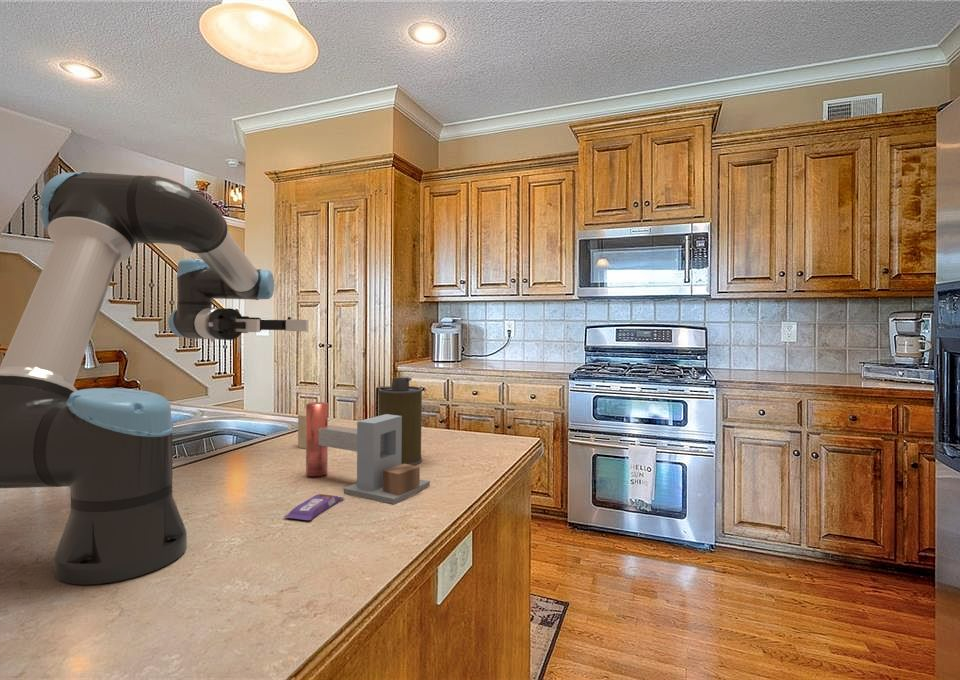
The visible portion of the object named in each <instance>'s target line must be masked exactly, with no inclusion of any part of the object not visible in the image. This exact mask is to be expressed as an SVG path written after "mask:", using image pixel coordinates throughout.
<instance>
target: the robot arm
mask: <svg viewBox="0 0 960 680" xmlns="http://www.w3.org/2000/svg"><path fill="white" fill-rule="evenodd" d="M39 204H40V205H41V206H42V207H41V209H40V210H39V213H40V218H41V221H42V224H43V226H44V228H45V229H46V230H47V235H48V236H49V238H50V239H51V240H52V242H53V245H52V247H51V250H50V252H49V254H48V256H47V259H46V261H45V263H44V266H43V268H42V270H41V272H40V274H39V277H38V280H37V282H36V284H35V286H34V289H33V291H32V293H31V296H30V298H29V300H28V302H27V305H26V307H25V309H24V311H23V313H22V316H21V318H20V320H19V323H18V324H17V328H16V329H15V332H14V334H13V337H12V339H11V341H10V342H9V346H8V348H7V350H6V352H5V354H4V357H3V359H2V361H1V364H0V489H22V488H23V489H25V488H26V489H28V488H30V489H31V488H55V487H56V488H62V487H67V488H68V487H69V492H70V511H69V516H68V518H67V521H66V524H65V527H64V530H63V532H62V534H61V535H62V536H61V538H60V540H59V544H58V546H57V548H56V551H55V554H54V558H53V559H54V562H53V563H54V564H53V566H54V567H53V568H54V576H55V578H56V579H58V580H59V581H61V582H63V583H67V584H73V585H101V584H107V583H116V582H120V581H126V580H129V579H132V578H136V577H140V576H143V575H146V574H149V573H152V572H155V571H157V570H159V569H161V568H164V567H166V566H168V565H169V564H172V563H173V562H175V561H176V560H177V559H179V558H180V557H181V556H182V555H183V554H184V553H185V552H186V550H187V548H188V545H187V543H188V539H187V537H188V534H187V529H186V526H185V524H184V521H183V519H182V516H181V514H180V511H179V509H178V506H177V503H176V501H175V498H174V495H173V431H174V424H173V420H172V419H173V418H172V408H171V404H170V401H169V400H168V399H167V398H166V397H164V396H162V395H160V394H158V393H156V392H151V391H146V390H141V389H131V388H120V387H118V388H117V387H114V388H105V387H102V388H101V387H93V388H83V389H79V390H78V389H77V388H76V387H75V386H74V385H75V382H76V379H77V378H78V373H79V370H80V367H81V365H82V362H83V360H84V357H85V354H86V352H87V348H88V344H89V343H90V340H91V337H92V334H93V332H94V328H95V326H96V323H97V320H98V317H99V314H100V311H101V309H102V306H103V303H104V300H105V297H106V295H107V292H108V288H109V286H110V283H111V280H112V277H113V274H114V273H115V268H116V267H117V264H120V263H123V262H125V261H127V260H129V258H130V257H131V255H132V253H133V249H134V247H135V245H136V244H163V245H167V244H168V245H176V246H180V247H181V248H182V249H184V250H185V251H186V252H189V253H191V254H196V255H197V256H198V257H199V258H200V259H194V258H184V259H180V260H179V261H178V263H177V271H176V272H177V273H176V275H177V276H176V285H177V286H176V290H177V291H176V292H177V293H176V294H177V295H176V296H177V304H176V309H174V310H173V311H172V312H171V313H170V315H169V317H168V319H167V320H168V322H167V323H168V324H167V325H168V329H169V330H170V331H171V332H172V334H173V335H175V336H176V337H179V338H185V339H193V340H194V339H197V340H200V339H201V340H210V341H211V342H212V343H215V341H216V340H219V341H220V340H221V341H222V340H223V341H233V340H236V339H237V338H239V337H240V336H241V334H249V333H261V331H271V330H272V331H286V332H287V331H288V332H309V319H292V317H291V316H288V317H287V319H261V317H255V316H254V317H252V316H251V317H250V316H247V315H246V316H245V315H244V316H243V315H242V314H241V313H240V312H239V311H238V310H236V309H235V308H229V307H228V308H223V307H222V308H220V307H214V308H213V307H212V306H213V299H214V300H215V299H218V300H219V299H223V300H224V299H225V300H251V301H252V300H254V301H259V300H270V299H271V298H272V297H273V296H274V293H275V292H274V291H275V280H274V279H275V278H274V275H273V273H272V271H271V270H269V269H262V268H259V269H257V268H256V267H255V265H254V264H253V263H252V262H251V261H250V259H249V258H248V256H247V255H246V254H245V252H243V250H242V249H241V247H240V246H239V245H238V243H237V241H235V239H234V238H233V236H231V234H230V233H229V232H228V230H229V229H228V227H229V226H228V223H227V221H226V218H225V217H224V216H223V214H222V213H221V212H220V211H219V209H218V208H217V207H216V206H215V205H214V204H212V203H211V202H210V201H209V200H207V198H205V197H204V196H202V195H201V194H199V192H196V191H194V190H193V189H191V187H188V186H186V185H183V184H182V183H180V182H177V181H176V180H175V181H174V180H172V179H171V178H166V177H161V176H159V175H158V176H157V175H139V174H138V175H137V174H136V175H135V174H120V173H104V172H102V173H101V172H92V171H85V170H84V171H76V172H75V171H74V172H62V173H59V174H57V175H55V176H53V177H52V178H51V179H50V180H49V181H47V183H46V184H45V185H44V187H43V189H42V192H41V194H40V198H39Z"/></svg>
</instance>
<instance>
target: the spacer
mask: <svg viewBox="0 0 960 680" xmlns="http://www.w3.org/2000/svg"><path fill="white" fill-rule="evenodd" d="M420 470H421V469H420V466H418V465H409V464H401V465H398V466H395V467H392V468H389V469H386V470H383V491H384V492H388V493H391V494H395V495H401V494H403V493H406V492H408V491H411V490H413V489H416V488H418V487H419V484H420V480H421V479H420V474H421V472H420Z"/></svg>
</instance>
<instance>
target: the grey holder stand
mask: <svg viewBox="0 0 960 680" xmlns="http://www.w3.org/2000/svg"><path fill="white" fill-rule="evenodd" d="M356 422H357V424H356V425H357V426H356V427H357V428H356V429H357V452H356V483H353V484H351V485H349V486H346V487H344V488H343V494H345V495H349V496H353V497H358V498H364V499H366V500H372V501H377V502H381V503H387V504H390V505H396V504H397V503H400V502H401V501H404V500H405V499H407V498H410V497H412V496H413V495H415V494H417V493H419V492H421V491H423V490H425V489H427V488H428V487H430V485H431V483H430V482H431V481H430V480H426V479H420V484H419V487H418V488H416V489H413V490H411V491H408V492H406V493H403V494H401V495H395V494H391V493H388V492H384V491H383V470H386V469H389V468H392V467H395V466H398V465H401V450H402V416H398V415H389V414H385V415H381V416H379V415H378V416H377V417H376V416H374V417H373V416H372V417H369V418H366V419H361V420H357V421H356ZM384 433H385V450H384V451H382V452H380V435H381V434H384Z"/></svg>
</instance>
